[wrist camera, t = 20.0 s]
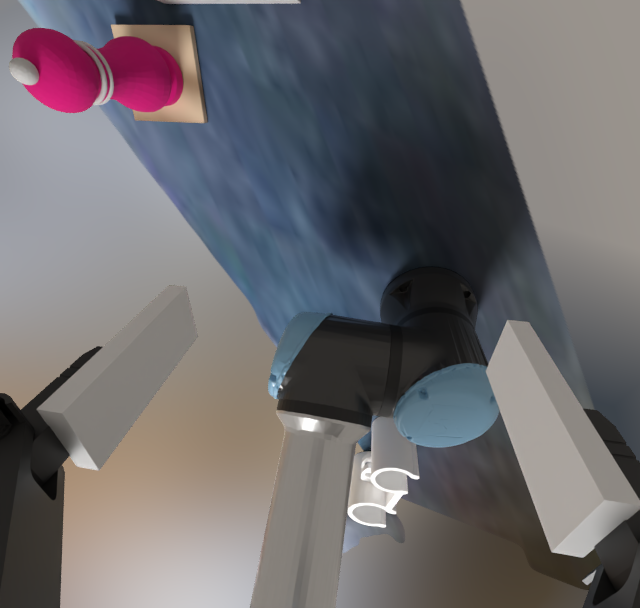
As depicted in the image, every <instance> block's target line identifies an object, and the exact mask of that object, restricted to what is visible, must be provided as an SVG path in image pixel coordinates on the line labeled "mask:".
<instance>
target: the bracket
mask: <svg viewBox="0 0 640 608" xmlns="http://www.w3.org/2000/svg"><path fill="white" fill-rule="evenodd" d="M407 475H408V476H410V477H411V478H413V479H419V470H418V460H417V450H416V444H415V443H412V442H410V441H409V440H407V438H406V437H403V436H402V435H401V434H400V433H399V431H398V429H397V427H396V426H395V423H394V419H392V418H387V417H382V416H380V417H378V418H376V419H375V420H374V421H373V423H372V440H371V451H365V452H360V453H357V454H356V455H354V463H353V471H352V479H351V487H350V495H349V502H348V515H349V516H350V517H351V518H352V519H353V520H355V521H356V522H359V523H361V524H364V525H369V526H379V527H386V511H387V512H388V513H391V514H396V503H397V502H398V500H399V499H400V498H401V496H402V495H403V494H408V486H407Z"/></svg>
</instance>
